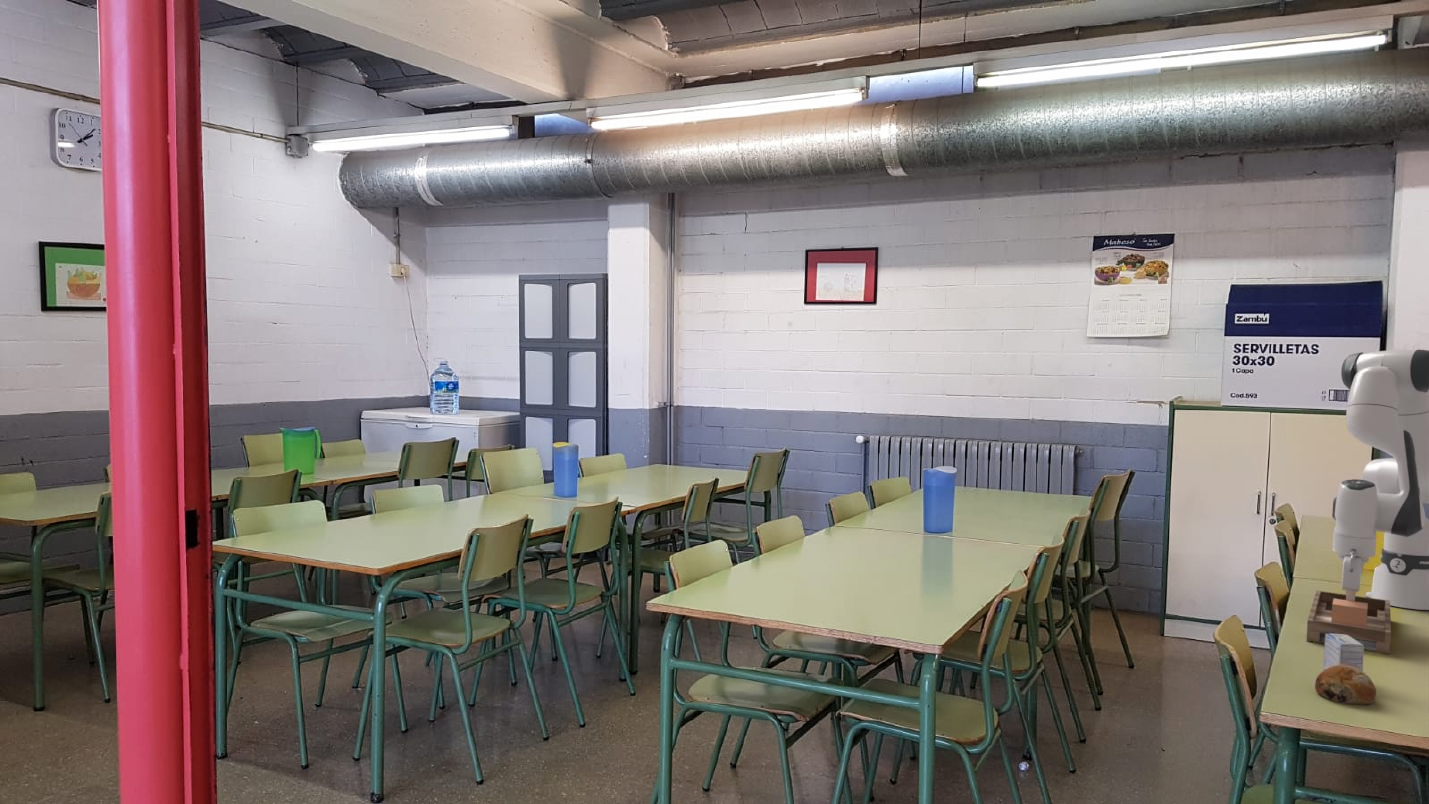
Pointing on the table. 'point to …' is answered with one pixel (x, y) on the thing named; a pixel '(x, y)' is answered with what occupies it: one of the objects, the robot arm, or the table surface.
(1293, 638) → the table surface
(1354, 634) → the tray
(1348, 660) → the medicine box
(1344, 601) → the block
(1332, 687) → the bread roll
